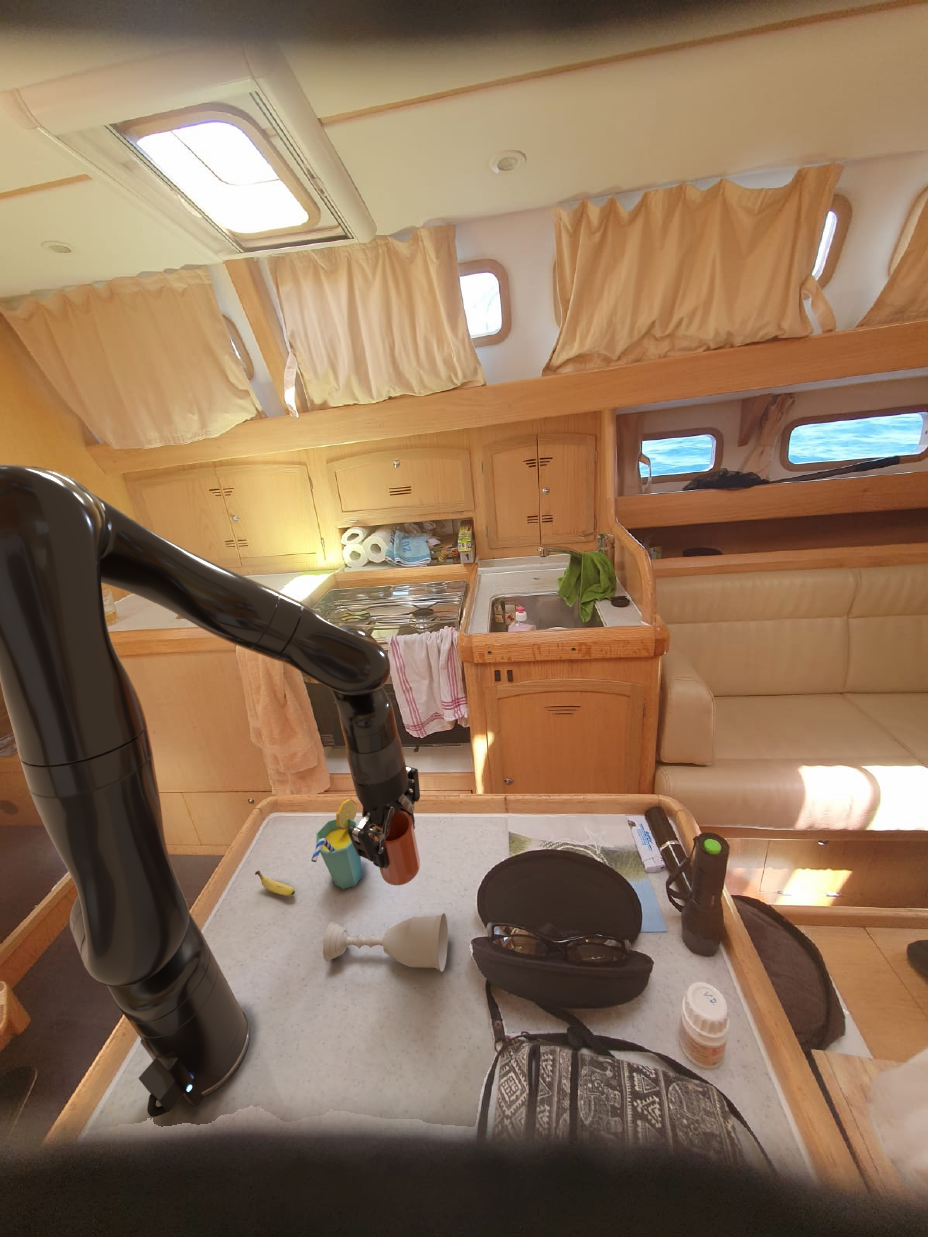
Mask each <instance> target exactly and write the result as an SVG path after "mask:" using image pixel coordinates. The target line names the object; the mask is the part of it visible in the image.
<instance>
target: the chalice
mask: <svg viewBox="0 0 928 1237" xmlns="http://www.w3.org/2000/svg"><path fill="white" fill-rule="evenodd" d="M448 932H449V930H448V921H447V916H446V913H445V912H443V913H441V914H440V915H438V916H413V917H411V918H408V919H405V920H403V921H401V922H398V923H397V924H395V925H393V926H391V928H389V929H387V930H386V931H385V933H384V936H381V937H378V936H374V934H371V935H369V936H367V937H365V936H363V935H362V933H360V934H359V935H358V936H355V937H354V936H350V935H349V934H348V931H347V929H346V928H345V927H344V926H341V925H340V924H338V923H336V922H335V921H331V922H330V923H329V924H328V926H327V928H326V930H325V933H324V936H323V943H322V955H323V959H324V961H325V962H330V961H332V960H333V959H336V958H338V957H341V956H342V955H343V954H344V952H346V950H347V948H348V947H349V946H355V947H357V949H360V948H362V947H364V946H367V947H369V948H370V949H371V948H373V947H375V946H382V947H383V952H384V953H385V954H386V955H388V957H390V958H392V959H394V960H395V961H397V962H398V963H399V964H400V963H401V964H402V965H405V966H406V967H409V968H435V969H437V971H439V972H441V973H443V972H444V971H445V967H446V963H447V955H448V943H449V942H448V941H449V939H448V938H449V936H448V935H449V934H448Z"/></svg>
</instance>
